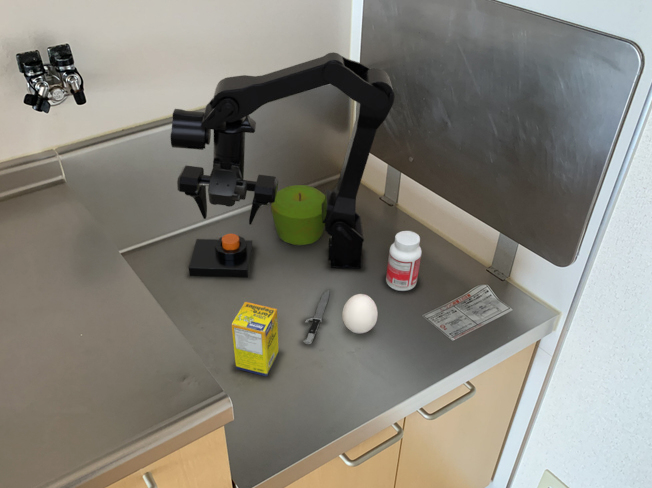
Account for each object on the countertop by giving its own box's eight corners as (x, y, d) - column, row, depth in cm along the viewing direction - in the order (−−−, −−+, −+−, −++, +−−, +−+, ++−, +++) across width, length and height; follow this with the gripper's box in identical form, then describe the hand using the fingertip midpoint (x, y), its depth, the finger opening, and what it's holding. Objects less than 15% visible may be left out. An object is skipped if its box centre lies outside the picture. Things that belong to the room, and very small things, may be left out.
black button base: (252, 248, 132) (251, 233, 129) (248, 277, 125) (247, 262, 122) (197, 247, 133) (195, 232, 130) (189, 276, 125) (187, 260, 122)
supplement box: (279, 353, 109) (278, 308, 101) (267, 377, 104) (265, 331, 97) (248, 345, 110) (244, 300, 103) (235, 369, 106) (230, 323, 99)
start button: (240, 240, 128) (240, 233, 127) (238, 251, 125) (238, 244, 124) (223, 240, 128) (222, 233, 127) (221, 250, 126) (220, 243, 124)
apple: (335, 247, 132) (337, 203, 125) (281, 257, 130) (280, 212, 122) (316, 216, 141) (318, 173, 134) (265, 225, 139) (264, 181, 131)
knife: (297, 343, 110) (313, 345, 110) (297, 340, 110) (313, 342, 109) (317, 289, 122) (332, 291, 121) (317, 286, 121) (332, 288, 120)
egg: (340, 317, 116) (343, 285, 110) (374, 317, 115) (378, 285, 110) (341, 341, 111) (344, 308, 106) (377, 341, 111) (381, 309, 105)
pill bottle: (407, 270, 126) (414, 225, 119) (422, 288, 122) (430, 243, 115) (380, 276, 125) (385, 232, 117) (394, 295, 120) (400, 250, 113)
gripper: (168, 165, 107) (172, 237, 117) (273, 178, 106) (268, 250, 117) (183, 136, 115) (185, 206, 125) (281, 148, 115) (275, 218, 125)
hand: (227, 220), depth 123 cm, fingers open, 9 cm apart
